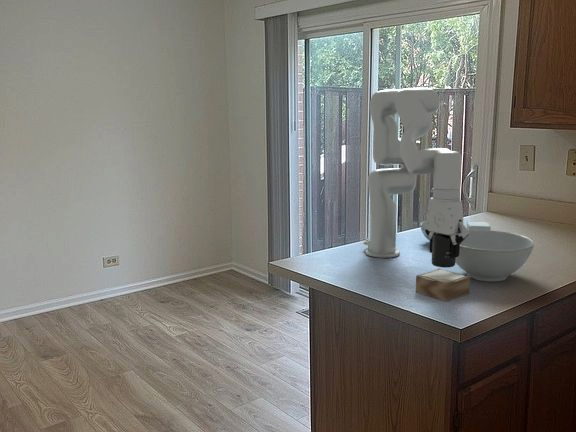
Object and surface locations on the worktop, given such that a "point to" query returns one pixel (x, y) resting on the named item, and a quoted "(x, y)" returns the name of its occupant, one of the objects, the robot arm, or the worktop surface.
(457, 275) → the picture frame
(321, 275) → the worktop surface
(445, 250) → the supplement bottle
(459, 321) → the worktop surface
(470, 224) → the supplement box
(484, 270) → the decorative bowl
